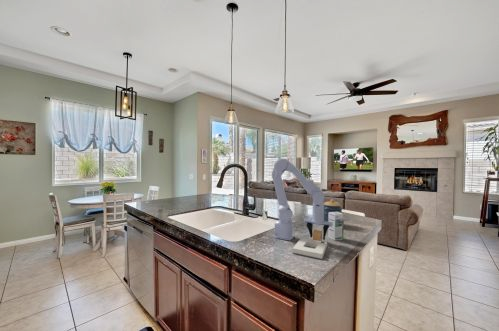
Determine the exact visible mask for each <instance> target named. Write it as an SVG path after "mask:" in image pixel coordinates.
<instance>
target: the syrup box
mask: <svg viewBox="0 0 499 331" xmlns="http://www.w3.org/2000/svg"><path fill="white" fill-rule="evenodd" d="M344 219H345V218H344V213H343V212H342V213H340V212H329V213H328V222H333V226H332V227H330V226H329V228H328V230H327V232H328V234H327V235H328V238H329V239H331V240H332V241H344V231H345V230H344V229H345V228H344V225H345V224H344V221H345V220H344Z"/></svg>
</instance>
